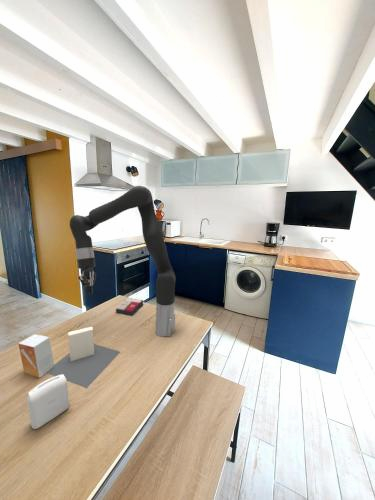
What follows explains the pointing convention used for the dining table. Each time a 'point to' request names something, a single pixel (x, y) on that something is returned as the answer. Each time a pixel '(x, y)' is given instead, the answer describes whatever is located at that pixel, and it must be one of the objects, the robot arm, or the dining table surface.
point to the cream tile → (81, 343)
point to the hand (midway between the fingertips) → (90, 293)
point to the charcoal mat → (84, 366)
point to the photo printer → (48, 400)
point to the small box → (36, 355)
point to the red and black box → (129, 306)
